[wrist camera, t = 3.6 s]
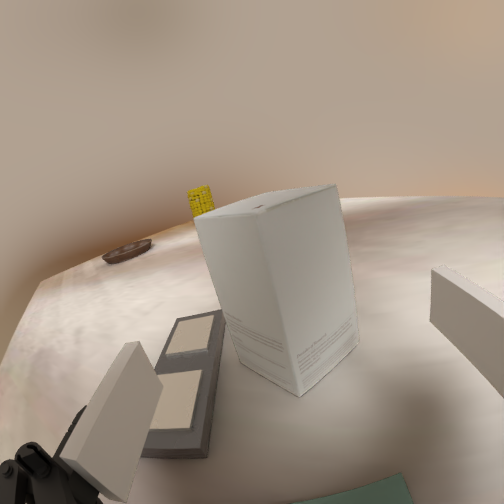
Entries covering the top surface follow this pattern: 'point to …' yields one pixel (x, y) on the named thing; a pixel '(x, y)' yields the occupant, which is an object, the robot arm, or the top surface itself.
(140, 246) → the plant saucer
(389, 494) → the mat
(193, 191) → the food
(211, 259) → the supplement box
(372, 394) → the top surface
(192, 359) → the label plate
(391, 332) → the top surface
